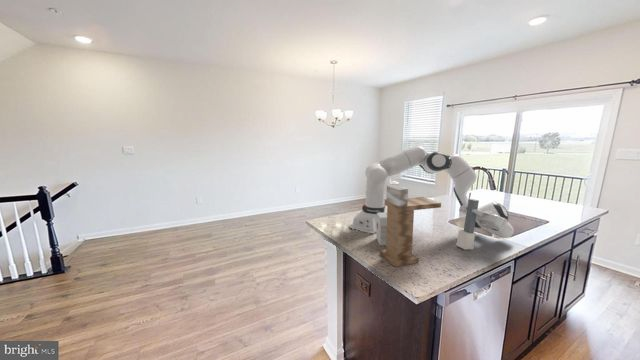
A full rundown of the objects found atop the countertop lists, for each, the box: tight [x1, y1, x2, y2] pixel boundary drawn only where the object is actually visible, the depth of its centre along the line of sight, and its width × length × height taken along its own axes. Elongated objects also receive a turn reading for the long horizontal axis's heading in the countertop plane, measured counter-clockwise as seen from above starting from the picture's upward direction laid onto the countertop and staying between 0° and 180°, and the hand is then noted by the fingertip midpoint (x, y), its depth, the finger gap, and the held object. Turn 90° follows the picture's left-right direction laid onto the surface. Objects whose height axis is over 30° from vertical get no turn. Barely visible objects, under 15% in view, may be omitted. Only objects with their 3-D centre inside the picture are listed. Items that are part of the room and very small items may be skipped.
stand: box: [379, 184, 442, 268], centre depth 109 cm, size 22×12×33 cm, turn 105°
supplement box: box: [376, 212, 387, 246], centre depth 127 cm, size 9×9×15 cm
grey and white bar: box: [455, 198, 480, 250], centre depth 118 cm, size 24×5×5 cm
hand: (469, 208), depth 117 cm, fingers closed on grey and white bar, 3 cm apart
